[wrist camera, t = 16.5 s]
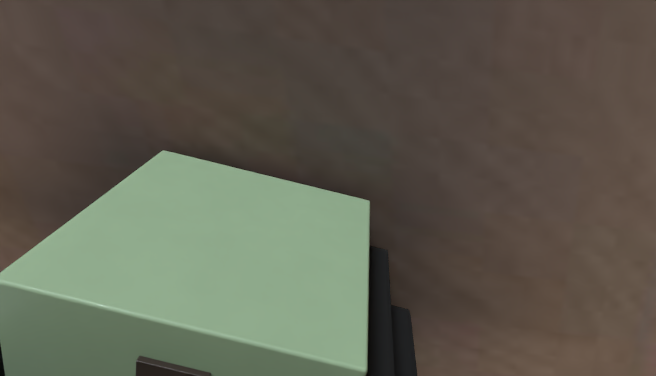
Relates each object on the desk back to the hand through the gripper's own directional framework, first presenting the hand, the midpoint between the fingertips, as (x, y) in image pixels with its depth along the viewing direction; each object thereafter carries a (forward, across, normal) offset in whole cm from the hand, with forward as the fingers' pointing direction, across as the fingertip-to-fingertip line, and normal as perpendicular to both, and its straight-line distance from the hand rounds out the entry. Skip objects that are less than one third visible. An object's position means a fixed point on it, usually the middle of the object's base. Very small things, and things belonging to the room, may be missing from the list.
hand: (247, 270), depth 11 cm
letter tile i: (0, 0, 0) cm, 0 cm away
